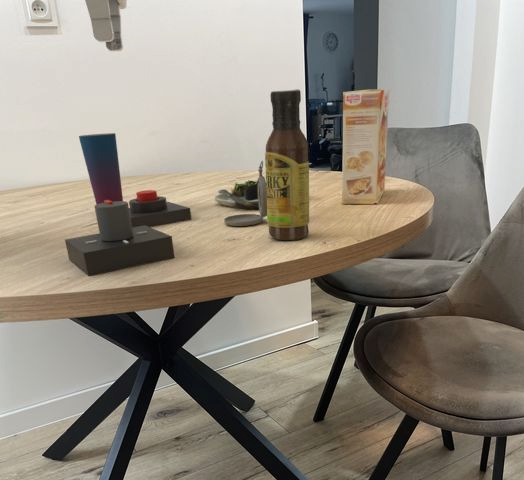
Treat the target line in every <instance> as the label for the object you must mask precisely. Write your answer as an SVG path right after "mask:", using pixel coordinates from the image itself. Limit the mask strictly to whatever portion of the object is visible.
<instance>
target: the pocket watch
mask: <svg viewBox="0 0 524 480" xmlns="http://www.w3.org/2000/svg"><path fill="white" fill-rule="evenodd" d="M263 167H264V160H261V161H260V163H259V166H258V169H257V171H258V174H259V175H258V177H257V180H256V181H257V195H258V206H259V210H258V212H259V214H257V213H243V214H242V213H241V214H233V215H230V216H227V217H225V218H224V219H223V223H224V224H225V225H227V226H231V227H248V226H256V225H257V224H260V223H262V222H263V219H264V218H265V217H266V218H267V189H266V176H263V171H264V169H263Z"/></svg>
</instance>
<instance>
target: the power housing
mask: <svg viewBox="0 0 524 480" xmlns="http://www.w3.org/2000/svg"><path fill="white" fill-rule="evenodd" d="M157 198H158V199H157V200H153V201H144V202H138V200H137V197H136V198H132V199H130V200H129V201H128V206H129V212H130V218H131V224H132V228H133V227H139V226H144V225H146V226H148V227H151V228H154V227H159V226H165V225H170V224H175V223H176V224H177V223H180V222H181V223H182V222H188V221H192V212H191V208H190V207H188V206H184V205H181V204H178V203H174V202H171V201H167V197H166V196H160V195H159V196H158V195H157Z"/></svg>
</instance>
